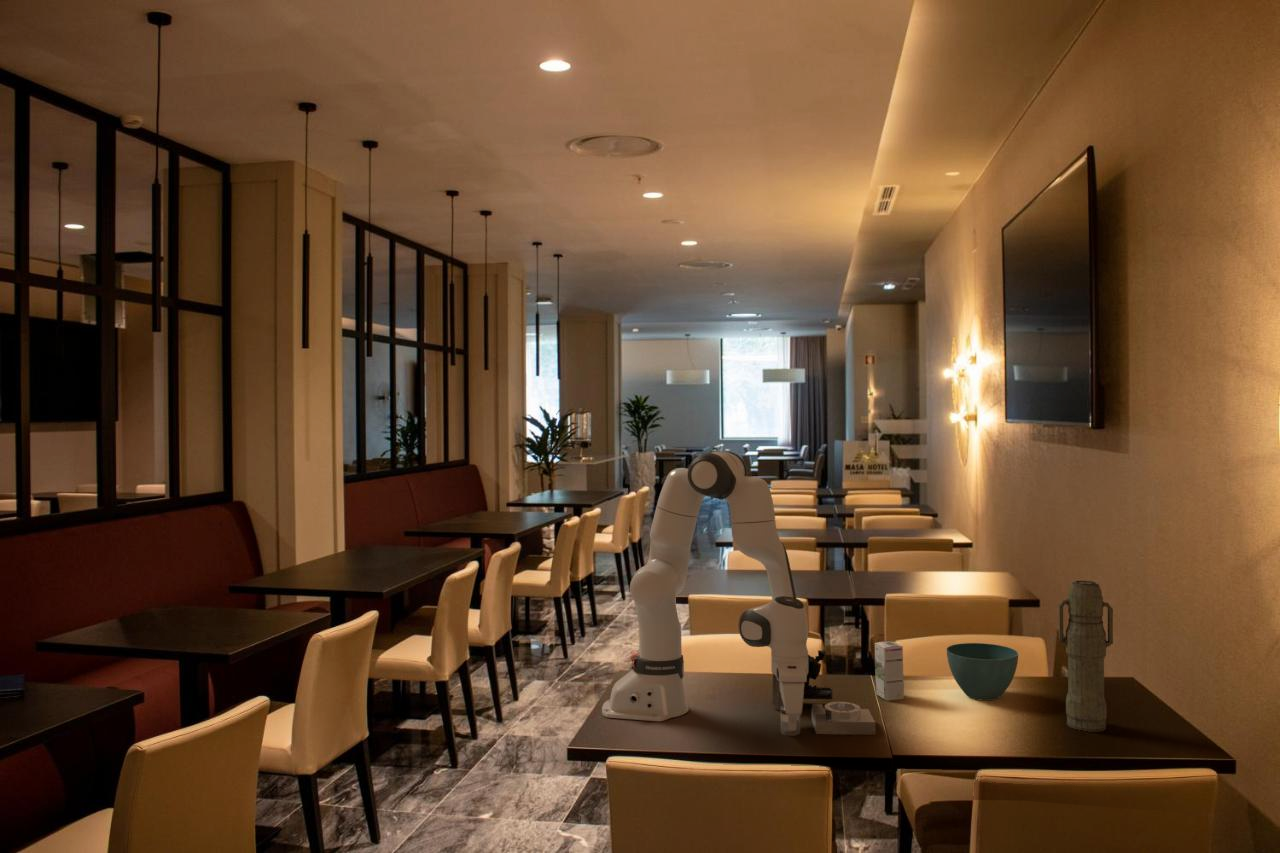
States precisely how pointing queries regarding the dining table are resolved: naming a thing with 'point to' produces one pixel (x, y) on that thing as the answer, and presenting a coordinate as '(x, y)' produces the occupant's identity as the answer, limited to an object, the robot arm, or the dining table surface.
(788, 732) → the knob
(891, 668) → the syrup box
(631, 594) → the robot arm
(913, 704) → the dining table surface
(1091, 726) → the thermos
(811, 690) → the vintage camera
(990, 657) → the teal bowl
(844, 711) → the mount
